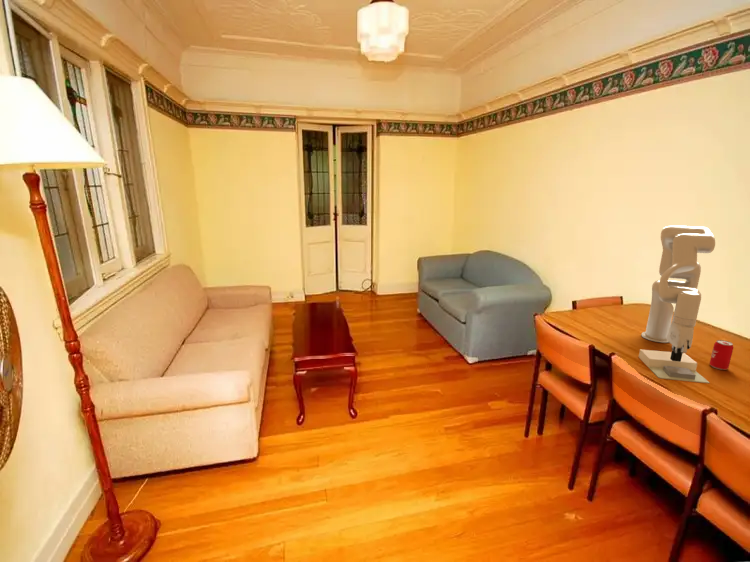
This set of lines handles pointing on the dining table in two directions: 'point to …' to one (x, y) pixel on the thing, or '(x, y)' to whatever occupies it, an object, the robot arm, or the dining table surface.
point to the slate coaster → (679, 372)
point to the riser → (665, 360)
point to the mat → (663, 375)
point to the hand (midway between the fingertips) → (675, 360)
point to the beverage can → (721, 354)
